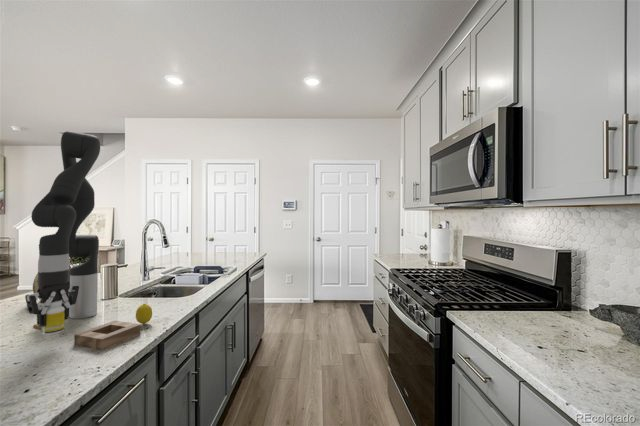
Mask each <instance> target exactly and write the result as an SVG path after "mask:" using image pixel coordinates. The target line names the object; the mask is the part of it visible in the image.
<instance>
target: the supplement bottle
mask: <svg viewBox="0 0 640 426" xmlns="http://www.w3.org/2000/svg"><path fill="white" fill-rule="evenodd" d="M45 303H46V302H45ZM61 305H62V300H60V301H54V302H51V304H50V306H49V307H48V308H47V311H46V313H45V314H46V326H44V327H42V329H41V334H42V335H43V336H53V335H57V334H60V333H62V332H64V331H65V321H66V320H65V308H64V307H62V306H61Z"/></svg>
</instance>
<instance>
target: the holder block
mask: <svg viewBox="0 0 640 426" xmlns="http://www.w3.org/2000/svg"><path fill="white" fill-rule="evenodd" d="M141 324H142V323H133V322H129V321H128V322H127V321H122V320H121V321H120V320H112V321H110V322H106V323H104V324H101V325H98V326H95V327H93V328H90V329H86V330H83V331H80V332H77V333H75V334H74V337H73V345H74V346H76V347H80V348H86V349H91V350H95V351H96V350H97V351H100V352H101V351H105V350H107V349H109V348H112V347H114V346H117V345H119V344H122V343H123V342H125V341H128V340H130V339H133V338H136V337H138V336H140V335H141V331H142V330H141Z"/></svg>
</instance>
